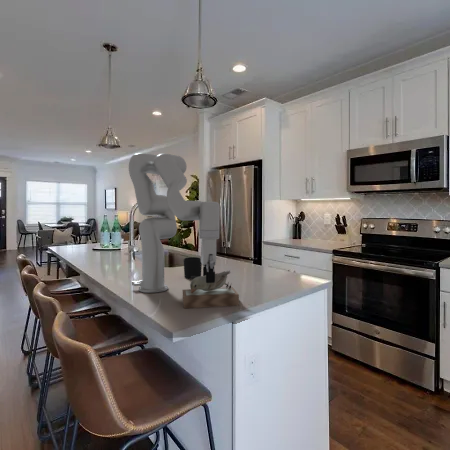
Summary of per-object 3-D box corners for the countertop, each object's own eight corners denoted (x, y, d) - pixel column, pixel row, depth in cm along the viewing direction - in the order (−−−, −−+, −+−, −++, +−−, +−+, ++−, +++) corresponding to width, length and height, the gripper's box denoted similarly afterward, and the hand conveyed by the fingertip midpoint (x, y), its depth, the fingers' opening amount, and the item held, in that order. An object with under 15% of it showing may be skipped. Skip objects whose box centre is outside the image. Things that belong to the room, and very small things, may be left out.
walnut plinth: (183, 308, 111) (183, 296, 111) (182, 299, 122) (182, 289, 122) (238, 305, 114) (238, 294, 114) (232, 297, 125) (232, 286, 125)
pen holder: (180, 278, 161) (179, 259, 160) (190, 275, 169) (190, 256, 169) (195, 280, 157) (195, 260, 156) (205, 276, 165) (205, 257, 164)
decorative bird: (188, 291, 118) (188, 272, 117) (228, 287, 124) (228, 269, 123) (192, 295, 113) (192, 274, 112) (233, 291, 119) (233, 271, 118)
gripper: (197, 232, 125) (196, 274, 126) (201, 236, 108) (201, 285, 109) (215, 232, 126) (215, 274, 127) (223, 236, 109) (222, 285, 110)
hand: (208, 279), depth 118 cm, fingers open, 9 cm apart
